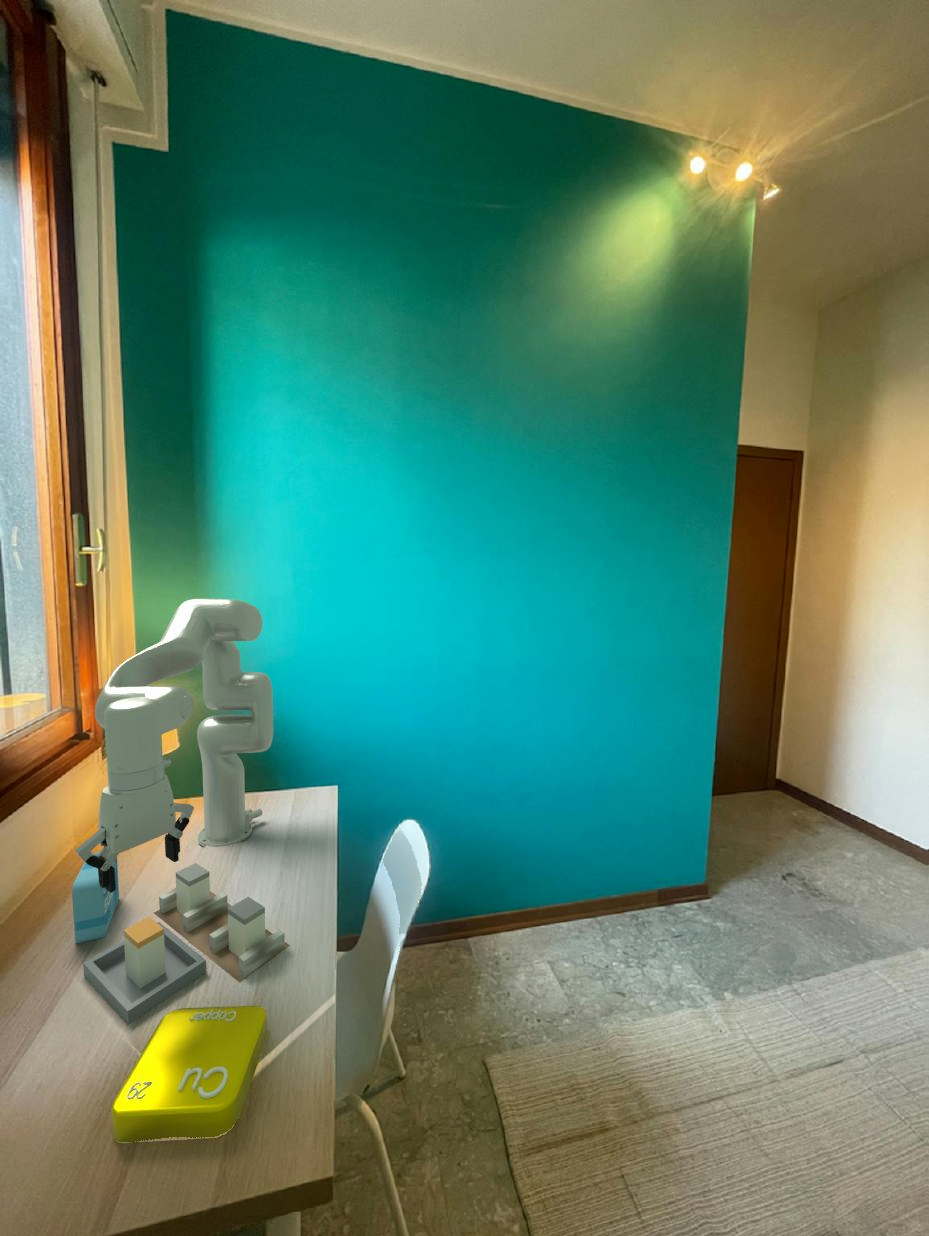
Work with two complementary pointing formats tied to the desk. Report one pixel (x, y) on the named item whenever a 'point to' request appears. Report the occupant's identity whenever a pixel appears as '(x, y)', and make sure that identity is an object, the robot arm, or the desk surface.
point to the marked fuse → (144, 952)
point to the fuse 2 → (245, 925)
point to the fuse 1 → (192, 887)
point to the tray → (135, 1001)
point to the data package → (92, 904)
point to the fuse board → (218, 934)
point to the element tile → (191, 1075)
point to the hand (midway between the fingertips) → (142, 873)
